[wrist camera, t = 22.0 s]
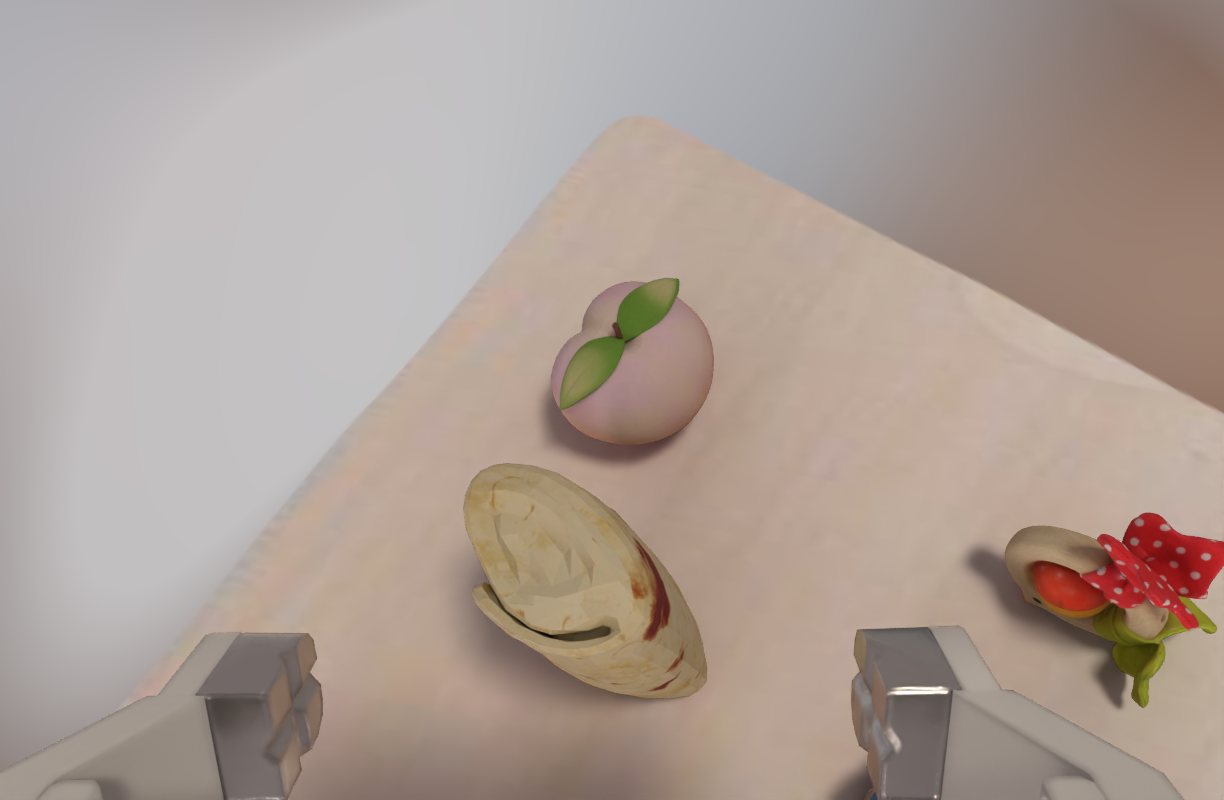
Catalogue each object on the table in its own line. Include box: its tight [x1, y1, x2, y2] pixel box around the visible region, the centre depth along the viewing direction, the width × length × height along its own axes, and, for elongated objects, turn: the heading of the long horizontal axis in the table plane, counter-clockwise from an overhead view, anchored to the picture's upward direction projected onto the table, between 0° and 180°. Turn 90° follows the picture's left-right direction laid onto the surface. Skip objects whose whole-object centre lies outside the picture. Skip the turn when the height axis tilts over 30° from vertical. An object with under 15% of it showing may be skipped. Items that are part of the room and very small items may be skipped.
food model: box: [463, 463, 707, 699], centre depth 42 cm, size 10×7×20 cm
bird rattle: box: [1005, 513, 1224, 708], centre depth 42 cm, size 6×11×9 cm
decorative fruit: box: [551, 278, 714, 445], centre depth 51 cm, size 9×8×10 cm
